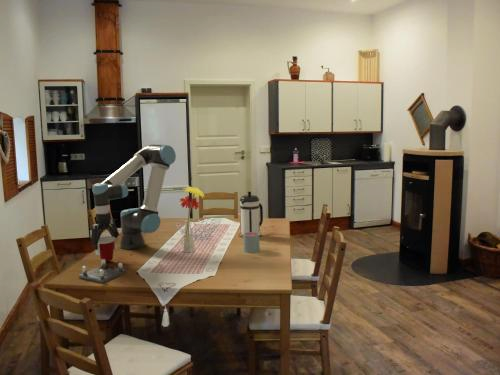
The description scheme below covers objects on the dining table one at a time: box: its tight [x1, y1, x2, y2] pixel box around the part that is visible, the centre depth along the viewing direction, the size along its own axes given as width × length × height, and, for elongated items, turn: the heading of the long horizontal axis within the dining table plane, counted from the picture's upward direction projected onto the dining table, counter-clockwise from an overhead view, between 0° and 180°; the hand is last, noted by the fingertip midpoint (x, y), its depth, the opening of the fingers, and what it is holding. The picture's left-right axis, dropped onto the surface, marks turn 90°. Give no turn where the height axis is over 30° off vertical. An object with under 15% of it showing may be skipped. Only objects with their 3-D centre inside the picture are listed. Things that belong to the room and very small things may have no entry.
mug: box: [242, 232, 261, 254], centre depth 248 cm, size 14×9×10 cm
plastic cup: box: [98, 235, 117, 262], centre depth 230 cm, size 11×11×12 cm
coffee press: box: [238, 191, 264, 238], centre depth 277 cm, size 17×16×30 cm
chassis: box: [78, 258, 128, 284], centre depth 211 cm, size 16×16×6 cm
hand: (106, 252), depth 230 cm, fingers closed on plastic cup, 11 cm apart
